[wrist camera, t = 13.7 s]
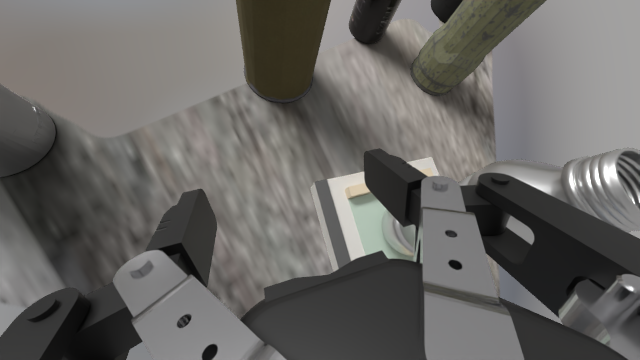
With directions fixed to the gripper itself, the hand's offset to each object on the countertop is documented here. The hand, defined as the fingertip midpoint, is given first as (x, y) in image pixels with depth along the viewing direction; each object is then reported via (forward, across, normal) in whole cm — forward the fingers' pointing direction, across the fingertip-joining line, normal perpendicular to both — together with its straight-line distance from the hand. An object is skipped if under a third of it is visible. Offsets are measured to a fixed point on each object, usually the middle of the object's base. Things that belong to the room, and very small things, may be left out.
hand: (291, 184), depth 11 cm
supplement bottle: (+36, -22, -7) cm, 43 cm away
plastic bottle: (+9, -13, +15) cm, 21 cm away
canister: (+30, -4, -3) cm, 30 cm away
